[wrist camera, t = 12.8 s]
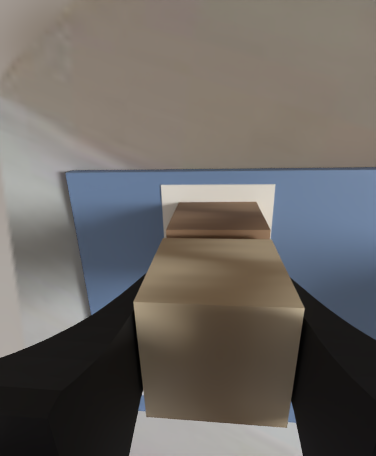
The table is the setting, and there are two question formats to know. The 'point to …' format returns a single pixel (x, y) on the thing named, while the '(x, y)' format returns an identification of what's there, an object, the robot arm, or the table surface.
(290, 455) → the table surface
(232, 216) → the walnut block
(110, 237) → the blueprint board
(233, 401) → the maple block
